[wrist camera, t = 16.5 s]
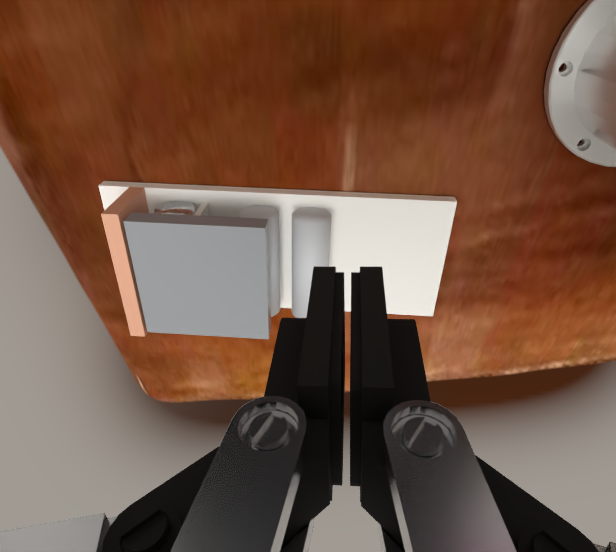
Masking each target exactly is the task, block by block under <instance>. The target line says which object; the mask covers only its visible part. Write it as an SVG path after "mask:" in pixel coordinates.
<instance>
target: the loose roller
mask: <svg viewBox="0 0 616 552" xmlns="http://www.w3.org/2000/svg"><path fill="white" fill-rule="evenodd" d="M154 212H155V213H157V214H178V215H194V214H195V207H194V205H193V204H192V203H190V202H187V201H169V202H165V203H162V204H160V205H158V206H157V207H156V208H155V209H154Z"/></svg>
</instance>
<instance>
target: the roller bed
mask: <svg viewBox="0 0 616 552" xmlns="http://www.w3.org/2000/svg"><path fill="white" fill-rule="evenodd" d="M98 186H99V190H100V194H101V198H102V202H103V206H104V211H103V212H102V213H101V216H102V220H103V224H104V228H105V232H106V236H107V240H108V244H109V248H110V252H111V256H112V261H113V265H114V269H115V273H116V277H117V281H118V285H119V289H120V293H121V297H122V301H123V305H124V309H125V313H126V318H127V322H128V326H129V330H130V334H131V336H146V334H147V327H146V323H145V318H144V314H143V309H142V304H141V300H140V295H139V291H138V286H137V282H136V277H135V272H134V268H133V263H132V259H131V254H130V250H129V245H128V240H127V236H126V231H125V227H124V222H123V221H124V220H125V219H126V218H127V217H128V216H129V215H130V214H131V213H132V212H136V213H155V212H154V209H155V208H156V207H157V206H158V205H160V204H162V203H165V202H169V201H187V202H190V203H192V204H193V205H194V207H195V214H194V215H198V216H219V217H240V218H261V219H268V229H269V263H270V297H271V317H272V316H274V315H276V314H277V313H278V312H279V311H280V308H292V314H293V315H294V316H295V317H296V318H306V317H307V310H308V303H309V296H310V289H311V282H312V274H313V268H314V266H321V267H336V272H344V299H345V311H349V312H351V272H360V267H382V270H383V280H384V290H385V300H386V310H387V314H402V315H419V316H433V313H434V308H435V304H436V299H437V294H438V289H439V285H440V280H441V275H442V271H443V266H444V261H445V256H446V252H447V247H448V242H449V238H450V233H451V228H452V223H453V219H454V214H455V209H456V205H457V201H456V199H455V197H451V196H429V195H406V194H384V193H362V192H340V191H317V190H295V189H273V188H251V187H228V186H206V185H184V184H162V183H139V182H117V181H103V182H102V183H101V184H100V185H98Z"/></svg>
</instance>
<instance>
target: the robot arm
mask: <svg viewBox="0 0 616 552" xmlns="http://www.w3.org/2000/svg"><path fill="white" fill-rule="evenodd" d="M561 64H564V68H563V69H562V70H561V71H559V67H560V65H561ZM544 104H545V111H546V115H547V118H548V122H549V125H550V127H551V128H552V130H553V132H554V134H555V136H556V137H557V138H558V140H559V141H560V142H561V143H562V144H563V145H564V146H565V147H566V148H567V149H568V150H570V151H571V152H572V153H574V154H575V155H576V156H578V157H580V158H582V159H584V160H586V161H588V162H590V163H594V164H598V165H602V166H606V167H616V0H588V1H587V2H586V3H585V4H584V5H583V6H582V7H581V8H580V9H579V10H578V11H577V13H576V14H575V15H574V17H573V18H572V20H571V21H570V23H569V24H568V25H567V27H566V28H565V30H564V31H563V33H562V35H561V37H560V39H559V41H558V43H557V45H556V47H555V49H554V51H553V53H552V56H551V59H550V62H549V65H548V69H547V72H546V79H545V86H544ZM580 140H582V141H581V143H579V141H580ZM578 143H579V144H578ZM344 385H345V299H344V272H336V267H321V266H314V268H313V274H312V282H311V289H310V296H309V303H308V310H307V317H306V318H282V319H281V322H280V326H279V330H278V335H277V340H276V344H275V349H274V353H273V358H272V363H271V367H270V372H269V376H268V381H267V386H266V390H265V395H264V397H260V398H256V399H254V400H252V401H250V402H248V403H246V404H245V405H244V406H243V407H241V408H240V409H239V410H238V411H237V413H236V414H235V416H234V417H233V419H232V420H231V422H230V425H229V427H228V429H227V431H226V433H225V435H224V438H223V440H222V442H221V444H220V446H219V447H217V448H216V449H214V450H213V451H211V452H210V453H208V454H207V455H205V456H204V457H202V458H201V459H199V460H198V461H196V462H195V463H194V464H192V465H190V466H189V467H187V468H186V469H184V470H183V471H181V472H180V473H178V474H177V475H175V476H174V477H172V478H171V479H169V480H168V481H166V482H165V483H164V484H162V485H160V486H159V487H157V488H156V489H154V490H152V491H151V492H149V493H148V494H146V495H145V496H144V497H142V498H141V499H139V500H138V501H136V502H134V503H133V504H132V505H130V506H129V507H128V508H127V509H125V510H124V511H123V512H122V513H120V514H119V515H118V516H117V517H112V518H107V517H106V515H105V513H103V514H97V515H91V516H86V517H80V518H74V519H69V520H63V521H57V522H52V523H46V524H40V525H35V526H29V527H23V528H18V529H12V530H7V531H1V532H0V552H308V550H309V545H310V541H311V536H312V532H313V526H314V517H315V516H317V515H318V514H319V513H320V512H321V511H322V510H323V509H325V508H326V507H327V506H328V505H329V504H330V501H332V486H333V485H342V471H343V427H344V426H343V425H344ZM350 486H360V502H361V506H362V507H363V508H364V509H365V510H366V511H367V512H368V513H369V514H370V515H371V516H372V517H373V518H374V519H375V520H376V521H377V522H378V533H379V539H380V544H381V549H382V552H616V543H612V542H609V544H608V546H607V547H604V546H600V545H596V544H593V543H592V542H591V541H590V540H589V539H588V538H586V536H585V535H583V534H582V533H581V532H580V531H579V530H578V529H576V528H575V527H574V526H572V525H571V524H570V523H568V522H567V521H565V520H564V519H563V518H561V517H560V516H558V515H557V514H556V513H554V512H553V511H552V510H550V509H549V508H547V507H546V506H545V505H543V504H542V503H540V502H539V501H538V500H536V499H535V498H534V497H532V496H531V495H530V494H528V493H527V492H525V491H524V490H522V489H521V488H520V487H518V486H517V485H516V484H514V483H513V482H512V481H510V480H509V479H507V478H506V477H505V476H503V475H502V474H500V473H499V472H498V471H496V470H495V469H494V468H492V467H491V466H490V465H488V464H487V463H485V462H484V461H483V460H481V459H480V458H478V457H477V456H476V455H475V454H474V452H473V449H472V448H471V445H470V442H469V440H468V438H467V435H466V433H465V431H464V429H463V426H462V425H461V423H460V422H459V420H458V419H457V417H456V416H455V415H454V414H452V413H451V412H450V411H449V410H448V409H446V408H444V407H442V406H440V405H438V404H436V403H433V402H430V397H429V392H428V386H427V381H426V375H425V370H424V364H423V359H422V353H421V348H420V342H419V337H418V331H417V326H416V322H415V320H414V319H387V310H386V300H385V290H384V280H383V270H382V267H360V272H351V354H350Z"/></svg>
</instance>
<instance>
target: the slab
mask: <svg viewBox="0 0 616 552" xmlns="http://www.w3.org/2000/svg"><path fill="white" fill-rule="evenodd" d="M123 222H124V227H125V231H126V236H127V240H128V245H129V250H130V254H131V259H132V263H133V268H134V272H135V277H136V282H137V286H138V291H139V295H140V300H141V304H142V309H143V314H144V318H145V323H146V327H147V332H156V333H173V334H190V335H206V336H223V337H240V338H256V339H269V336H270V332H271V297H270V263H269V229H268V219H261V218H240V217H219V216H198V215H178V214H157V213H136V212H132V213H131V214H130V215H129V216H128V217H127V218H126V219H125V220H124V221H123Z"/></svg>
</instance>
